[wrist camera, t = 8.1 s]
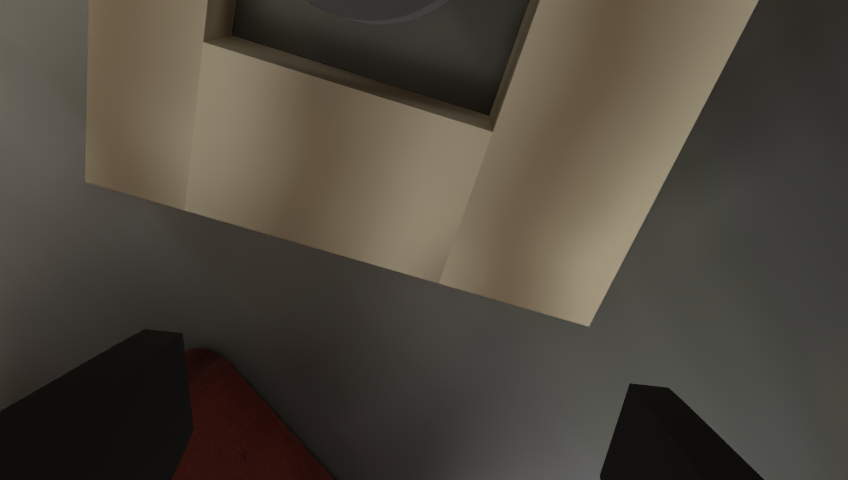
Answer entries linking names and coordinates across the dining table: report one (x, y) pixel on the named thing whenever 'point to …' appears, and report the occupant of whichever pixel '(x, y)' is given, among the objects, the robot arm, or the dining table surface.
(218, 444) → the plant pot
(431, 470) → the dining table surface
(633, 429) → the robot arm
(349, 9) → the grooved grey cylinder
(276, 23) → the dining table surface
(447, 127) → the wooden picture frame
